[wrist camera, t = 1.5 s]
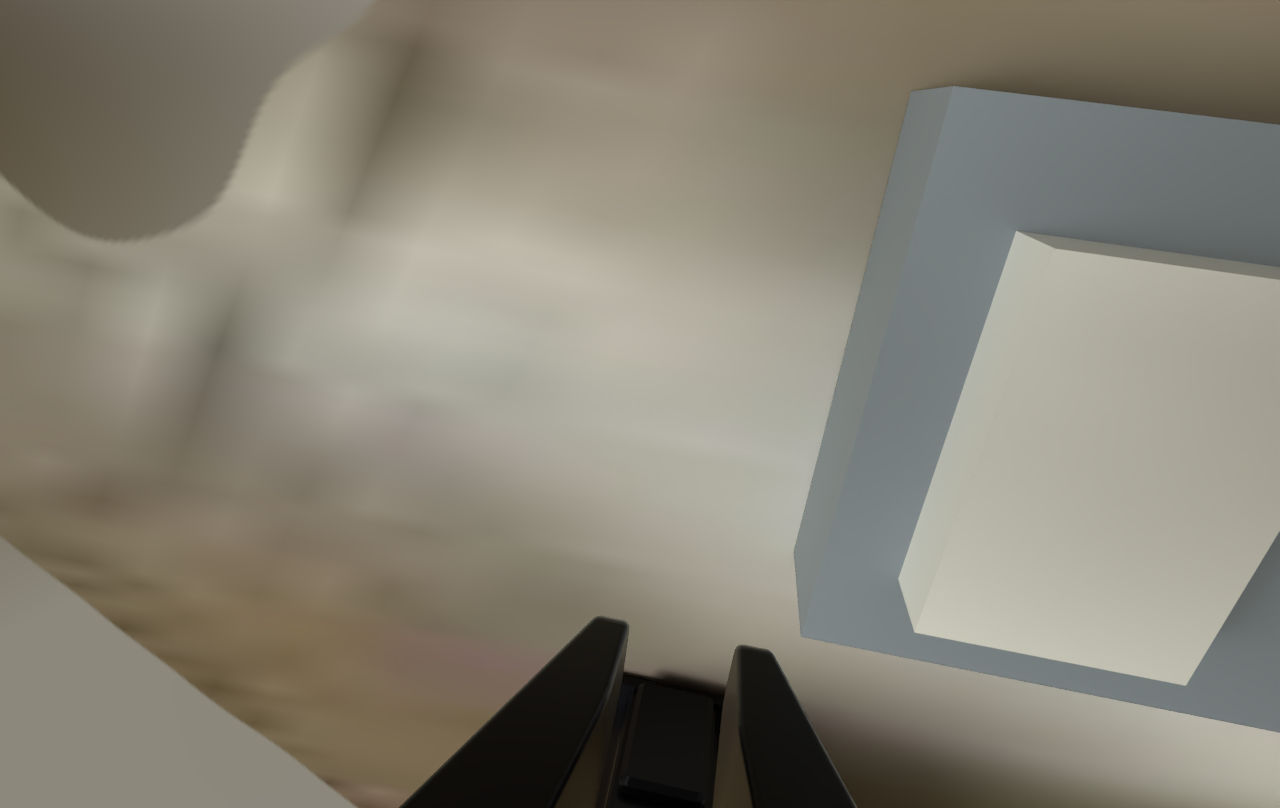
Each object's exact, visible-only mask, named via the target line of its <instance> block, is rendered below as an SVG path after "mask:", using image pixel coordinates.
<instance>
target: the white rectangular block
mask: <svg viewBox="0 0 1280 808" xmlns="http://www.w3.org/2000/svg"><path fill="white" fill-rule="evenodd" d="M1279 531H1280V267H1275V266H1268V265H1261V264H1253V263H1246V262H1239V261H1232V260H1224V259H1217V258H1210V257H1203V256H1195V255H1188V254H1181V253H1174V252H1166V251H1159V250H1152V249H1145V248H1137V247H1130V246H1123V245H1116V244H1108V243H1101V242H1094V241H1087V240H1079V239H1072V238H1065V237H1058V236H1050V235H1043V234H1036V233H1029V232H1021V231H1016V233H1015V236H1014V239H1013V242H1012V245H1011V248H1010V251H1009V254H1008V257H1007V260H1006V262H1005V265H1004V268H1003V271H1002V274H1001V277H1000V280H999V283H998V286H997V289H996V292H995V295H994V298H993V301H992V304H991V307H990V310H989V313H988V316H987V319H986V321H985V324H984V327H983V330H982V333H981V336H980V339H979V342H978V345H977V348H976V351H975V354H974V357H973V360H972V363H971V366H970V369H969V372H968V375H967V378H966V380H965V383H964V386H963V389H962V392H961V395H960V398H959V401H958V404H957V407H956V410H955V413H954V416H953V419H952V422H951V425H950V428H949V431H948V434H947V437H946V439H945V442H944V445H943V448H942V451H941V454H940V457H939V460H938V463H937V466H936V469H935V472H934V475H933V478H932V481H931V484H930V487H929V490H928V493H927V496H926V498H925V501H924V504H923V507H922V510H921V513H920V516H919V519H918V522H917V525H916V528H915V531H914V534H913V537H912V540H911V543H910V546H909V549H908V552H907V555H906V557H905V560H904V563H903V566H902V569H901V572H900V575H899V578H898V580H899V583H900V587H901V590H902V593H903V597H904V600H905V603H906V606H907V610H908V613H909V616H910V620H911V623H912V626H913V630H914V633H919V634H924V635H929V636H935V637H940V638H945V639H950V640H955V641H960V642H965V643H970V644H975V645H980V646H986V647H991V648H996V649H1001V650H1006V651H1011V652H1016V653H1021V654H1026V655H1031V656H1037V657H1042V658H1047V659H1052V660H1057V661H1062V662H1067V663H1072V664H1077V665H1082V666H1088V667H1093V668H1098V669H1103V670H1108V671H1113V672H1118V673H1123V674H1128V675H1133V676H1139V677H1144V678H1149V679H1154V680H1159V681H1164V682H1169V683H1174V684H1179V685H1184V686H1186V685H1187V683H1188V681H1189V680H1190V678H1191V676H1192V675H1193V673H1194V671H1195V670H1196V668H1197V666H1198V665H1199V663H1200V662H1201V660H1202V658H1203V657H1204V655H1205V653H1206V652H1207V650H1208V648H1209V647H1210V645H1211V643H1212V642H1213V640H1214V638H1215V637H1216V635H1217V633H1218V632H1219V630H1220V629H1221V627H1222V625H1223V624H1224V622H1225V620H1226V619H1227V617H1228V615H1229V614H1230V612H1231V610H1232V609H1233V607H1234V605H1235V604H1236V602H1237V601H1238V599H1239V597H1240V596H1241V594H1242V592H1243V591H1244V589H1245V587H1246V586H1247V584H1248V582H1249V581H1250V579H1251V577H1252V576H1253V574H1254V573H1255V571H1256V569H1257V568H1258V566H1259V564H1260V563H1261V561H1262V559H1263V558H1264V556H1265V554H1266V553H1267V551H1268V549H1269V548H1270V546H1271V545H1272V543H1273V541H1274V540H1275V538H1276V536H1277V535H1278V533H1279Z"/></svg>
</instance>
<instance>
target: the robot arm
mask: <svg viewBox="0 0 1280 808" xmlns="http://www.w3.org/2000/svg"><path fill="white" fill-rule="evenodd" d="M628 635H629V625H628V623H627V622H626V621H624V620H619V619H614V618H609V617H604V616H597V617H595V618H594V619H593V620H592V621H590V622H589V623H588V624H587V625H586V626H585V627H584V628H583V629H582V630H581V631H580V632H579V633H578V634H577V635H576V636H575V637H574V638H573V639H572V640H571V641H570V642H569V643H568V644H567V645H566V646H565V647H564V648H563V649H562V650H561V651H560V652H559V653H558V654H557V655H555V656H554V657H553V658H552V659H551V660H550V661H549V662H548V663H547V664H546V665H545V666H544V667H543V668H542V669H541V670H540V671H539V672H538V673H537V674H536V675H535V676H534V677H533V678H532V679H531V680H530V681H529V682H528V683H527V684H526V685H525V686H524V687H523V688H522V689H520V690H519V691H518V692H517V693H516V694H515V695H514V696H513V697H512V698H511V699H510V700H509V701H508V702H507V703H506V704H505V705H504V706H503V707H502V708H501V709H500V710H499V711H498V712H497V713H496V714H495V715H494V716H493V717H492V718H491V719H490V720H489V721H488V722H487V723H485V724H484V725H483V726H482V727H481V728H480V729H479V730H478V731H477V732H476V733H475V734H474V735H473V736H472V737H471V738H470V739H469V740H468V741H467V742H466V743H465V744H464V745H463V746H462V747H461V748H460V749H459V750H458V751H457V752H456V753H455V754H454V755H453V756H452V757H450V758H449V759H448V760H447V761H446V762H445V763H444V764H443V765H442V766H441V767H440V768H439V769H438V770H437V771H436V772H435V773H434V774H433V775H432V776H431V777H430V778H429V779H428V780H427V781H426V782H425V783H424V784H423V785H422V786H421V787H420V788H419V789H418V790H416V791H415V792H414V793H413V794H412V795H411V796H410V797H409V798H408V799H407V800H406V801H405V802H404V803H403V804H402V805H401V806H400V807H399V808H857V806H856V804H855V803H854V801H853V799H852V797H851V795H850V793H849V792H848V790H847V788H846V786H845V784H844V783H843V781H842V779H841V777H840V775H839V773H838V772H837V770H836V768H835V766H834V764H833V762H832V761H831V759H830V757H829V755H828V753H827V751H826V750H825V748H824V746H823V744H822V742H821V741H820V739H819V737H818V735H817V733H816V731H815V730H814V728H813V726H812V724H811V722H810V720H809V719H808V717H807V715H806V713H805V711H804V709H803V708H802V706H801V704H800V702H799V700H798V698H797V697H796V695H795V693H794V691H793V689H792V688H791V686H790V684H789V682H788V680H787V678H786V677H785V675H784V673H783V671H782V669H781V667H780V666H779V664H778V662H777V660H776V658H775V656H774V655H773V653H772V652H770V651H769V650H767V649H762V648H757V647H752V646H748V645H739V646H737V648H736V649H735V652H734V656H733V660H732V665H731V669H730V673H729V678H728V682H727V687H726V691H725V696H724V697H723V696H718V695H713V694H708V693H704V692H699V691H694V690H690V689H685V688H680V687H675V686H671V685H666V684H661V683H656V682H652V681H647V680H642V679H637V678H633V677H628V676H623V671H624V664H625V656H626V649H627V642H628Z"/></svg>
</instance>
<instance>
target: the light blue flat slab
mask: <svg viewBox="0 0 1280 808" xmlns="http://www.w3.org/2000/svg"><path fill="white" fill-rule="evenodd" d="M1016 231H1021V232H1029V233H1036V234H1043V235H1050V236H1058V237H1065V238H1072V239H1079V240H1087V241H1094V242H1101V243H1108V244H1116V245H1123V246H1130V247H1137V248H1145V249H1152V250H1159V251H1166V252H1174V253H1181V254H1188V255H1195V256H1203V257H1210V258H1217V259H1224V260H1232V261H1239V262H1246V263H1253V264H1261V265H1268V266H1275V267H1280V125H1278V124H1269V123H1261V122H1252V121H1244V120H1236V119H1227V118H1219V117H1210V116H1202V115H1194V114H1185V113H1177V112H1168V111H1160V110H1152V109H1143V108H1135V107H1126V106H1118V105H1109V104H1101V103H1093V102H1084V101H1076V100H1067V99H1059V98H1051V97H1042V96H1034V95H1025V94H1017V93H1009V92H1000V91H992V90H983V89H975V88H966V87H958V86H950V87H942V88H934V89H926V90H919V91H911V94H910V97H909V101H908V105H907V109H906V113H905V117H904V121H903V125H902V129H901V133H900V137H899V141H898V145H897V149H896V152H895V156H894V160H893V164H892V168H891V172H890V176H889V180H888V184H887V188H886V192H885V196H884V200H883V204H882V208H881V211H880V215H879V219H878V223H877V227H876V231H875V235H874V239H873V243H872V247H871V251H870V255H869V259H868V263H867V266H866V270H865V274H864V278H863V282H862V286H861V290H860V294H859V298H858V302H857V306H856V310H855V314H854V318H853V322H852V325H851V329H850V333H849V337H848V341H847V345H846V349H845V353H844V357H843V361H842V365H841V369H840V373H839V377H838V380H837V384H836V388H835V392H834V396H833V400H832V404H831V408H830V412H829V416H828V420H827V424H826V428H825V432H824V436H823V439H822V443H821V447H820V451H819V455H818V459H817V463H816V467H815V471H814V475H813V479H812V483H811V487H810V491H809V494H808V498H807V502H806V506H805V510H804V514H803V518H802V522H801V526H800V530H799V534H798V538H797V542H796V546H795V549H794V560H795V572H796V584H797V596H798V608H799V619H800V631H801V637H805V638H810V639H815V640H820V641H825V642H830V643H835V644H840V645H845V646H850V647H855V648H860V649H865V650H870V651H875V652H880V653H885V654H890V655H895V656H900V657H905V658H910V659H915V660H920V661H925V662H930V663H935V664H940V665H945V666H950V667H955V668H960V669H965V670H970V671H975V672H980V673H985V674H990V675H995V676H1000V677H1005V678H1010V679H1015V680H1020V681H1025V682H1030V683H1035V684H1040V685H1045V686H1050V687H1055V688H1060V689H1065V690H1070V691H1075V692H1080V693H1085V694H1090V695H1095V696H1100V697H1105V698H1110V699H1115V700H1120V701H1125V702H1130V703H1135V704H1140V705H1145V706H1150V707H1155V708H1160V709H1165V710H1170V711H1175V712H1180V713H1185V714H1190V715H1195V716H1200V717H1205V718H1210V719H1215V720H1220V721H1225V722H1230V723H1235V724H1240V725H1245V726H1250V727H1255V728H1260V729H1265V730H1270V731H1275V732H1280V531H1279V533H1278V535H1277V536H1276V538H1275V540H1274V541H1273V543H1272V545H1271V546H1270V548H1269V549H1268V551H1267V553H1266V554H1265V556H1264V558H1263V559H1262V561H1261V563H1260V564H1259V566H1258V568H1257V569H1256V571H1255V573H1254V574H1253V576H1252V577H1251V579H1250V581H1249V582H1248V584H1247V586H1246V587H1245V589H1244V591H1243V592H1242V594H1241V596H1240V597H1239V599H1238V601H1237V602H1236V604H1235V605H1234V607H1233V609H1232V610H1231V612H1230V614H1229V615H1228V617H1227V619H1226V620H1225V622H1224V624H1223V625H1222V627H1221V629H1220V630H1219V632H1218V633H1217V635H1216V637H1215V638H1214V640H1213V642H1212V643H1211V645H1210V647H1209V648H1208V650H1207V652H1206V653H1205V655H1204V657H1203V658H1202V660H1201V662H1200V663H1199V665H1198V666H1197V668H1196V670H1195V671H1194V673H1193V675H1192V676H1191V678H1190V680H1189V681H1188V683H1187V685H1186V686H1184V685H1179V684H1174V683H1169V682H1164V681H1159V680H1154V679H1149V678H1144V677H1139V676H1133V675H1128V674H1123V673H1118V672H1113V671H1108V670H1103V669H1098V668H1093V667H1088V666H1082V665H1077V664H1072V663H1067V662H1062V661H1057V660H1052V659H1047V658H1042V657H1037V656H1031V655H1026V654H1021V653H1016V652H1011V651H1006V650H1001V649H996V648H991V647H986V646H980V645H975V644H970V643H965V642H960V641H955V640H950V639H945V638H940V637H935V636H929V635H924V634H919V633H914V630H913V626H912V623H911V620H910V616H909V613H908V610H907V606H906V603H905V600H904V597H903V593H902V590H901V587H900V583H899V580H898V578H899V575H900V572H901V569H902V566H903V563H904V560H905V557H906V555H907V552H908V549H909V546H910V543H911V540H912V537H913V534H914V531H915V528H916V525H917V522H918V519H919V516H920V513H921V510H922V507H923V504H924V501H925V498H926V496H927V493H928V490H929V487H930V484H931V481H932V478H933V475H934V472H935V469H936V466H937V463H938V460H939V457H940V454H941V451H942V448H943V445H944V442H945V439H946V437H947V434H948V431H949V428H950V425H951V422H952V419H953V416H954V413H955V410H956V407H957V404H958V401H959V398H960V395H961V392H962V389H963V386H964V383H965V380H966V378H967V375H968V372H969V369H970V366H971V363H972V360H973V357H974V354H975V351H976V348H977V345H978V342H979V339H980V336H981V333H982V330H983V327H984V324H985V321H986V319H987V316H988V313H989V310H990V307H991V304H992V301H993V298H994V295H995V292H996V289H997V286H998V283H999V280H1000V277H1001V274H1002V271H1003V268H1004V265H1005V262H1006V260H1007V257H1008V254H1009V251H1010V248H1011V245H1012V242H1013V239H1014V236H1015V233H1016Z"/></svg>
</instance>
